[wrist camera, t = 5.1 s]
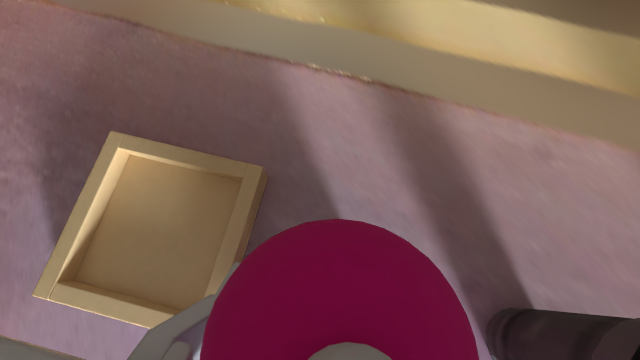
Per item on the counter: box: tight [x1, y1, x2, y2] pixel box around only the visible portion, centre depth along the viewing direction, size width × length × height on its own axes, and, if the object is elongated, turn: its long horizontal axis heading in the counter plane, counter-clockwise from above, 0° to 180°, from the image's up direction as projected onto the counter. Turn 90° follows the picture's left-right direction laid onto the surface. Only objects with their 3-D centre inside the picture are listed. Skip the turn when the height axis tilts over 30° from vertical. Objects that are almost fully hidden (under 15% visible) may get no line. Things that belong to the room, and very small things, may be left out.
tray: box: [32, 131, 268, 329], centre depth 22 cm, size 12×12×2 cm
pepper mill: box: [200, 219, 479, 360], centre depth 12 cm, size 7×7×20 cm
